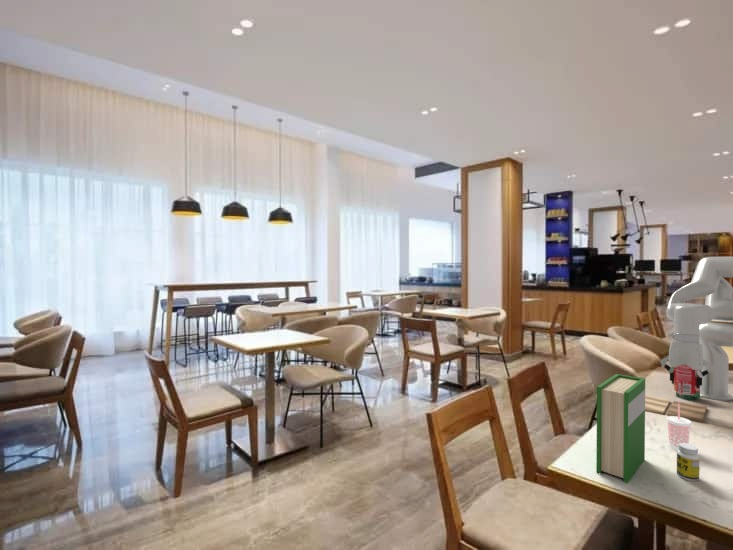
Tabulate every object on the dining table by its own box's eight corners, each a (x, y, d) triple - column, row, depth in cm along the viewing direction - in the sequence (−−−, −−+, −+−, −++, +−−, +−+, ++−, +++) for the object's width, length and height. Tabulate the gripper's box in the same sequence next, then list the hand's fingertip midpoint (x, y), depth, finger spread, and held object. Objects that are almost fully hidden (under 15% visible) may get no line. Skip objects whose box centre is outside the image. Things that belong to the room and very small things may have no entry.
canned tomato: (697, 403, 160) (697, 377, 160) (673, 398, 166) (673, 373, 166) (702, 399, 165) (702, 373, 164) (678, 394, 171) (679, 369, 171)
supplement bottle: (672, 472, 109) (672, 442, 108) (687, 471, 109) (688, 441, 109) (687, 482, 104) (688, 450, 104) (704, 481, 104) (704, 449, 104)
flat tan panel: (644, 398, 166) (644, 395, 166) (672, 404, 160) (672, 400, 160) (635, 410, 154) (635, 406, 153) (665, 417, 147) (665, 413, 147)
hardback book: (627, 483, 104) (628, 392, 103) (596, 472, 109) (596, 386, 108) (644, 459, 116) (645, 378, 115) (615, 451, 121) (616, 373, 120)
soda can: (688, 390, 153) (689, 359, 152) (702, 396, 146) (702, 364, 145) (668, 389, 153) (669, 359, 153) (681, 395, 146) (682, 363, 146)
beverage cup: (684, 454, 118) (685, 408, 118) (661, 446, 124) (662, 402, 123) (695, 450, 121) (695, 405, 121) (672, 442, 127) (672, 399, 126)
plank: (674, 404, 159) (673, 400, 159) (706, 409, 152) (706, 405, 152) (667, 417, 146) (667, 413, 146) (702, 423, 140) (702, 419, 140)
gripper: (656, 336, 152) (655, 382, 153) (716, 342, 140) (715, 392, 141) (659, 334, 158) (659, 378, 158) (717, 339, 146) (716, 387, 146)
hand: (685, 384), depth 149 cm, fingers closed on soda can, 6 cm apart
